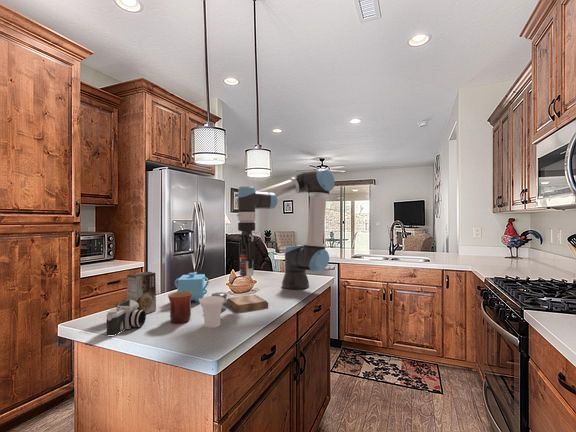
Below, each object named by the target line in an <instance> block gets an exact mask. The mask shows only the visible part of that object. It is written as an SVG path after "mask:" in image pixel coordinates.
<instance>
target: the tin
mask: <svg viewBox="0 0 576 432" xmlns="http://www.w3.org/2000/svg"><path fill="white" fill-rule="evenodd" d="M211 296H220V297H223V298H224V302H223V305H222V309H221V312H225V311H227V310H228V305H227V299H228V293H227V292H223V291H222V292H214V293H212V294H211Z"/></svg>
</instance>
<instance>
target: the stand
mask: <svg viewBox="0 0 576 432" xmlns="http://www.w3.org/2000/svg"><path fill="white" fill-rule="evenodd" d="M227 307H229V308H230V309H231V310H233V311H234V312H235V313H237V314H238V313H242V312H243V313H244V312H248V311H256V309H257V310H261V309H262V308H263V309H267V308H268V309H269V302H268V301H267V300H266V299H264V298H262V297H260V296H259V295H257V294H249V295H248V294H247V295H241V296H233V297H232V296H231V297H227Z"/></svg>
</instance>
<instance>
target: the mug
mask: <svg viewBox="0 0 576 432" xmlns="http://www.w3.org/2000/svg"><path fill="white" fill-rule="evenodd" d="M192 294H193V293H192V292H187V291H182V292H177V291H175V292H171V293H169V294H168V296H167V297H168V300H169V303H170V304H169V306H170V307H169V317H170V318H169V319H170V322H171V323H172V324H178V325H180V324H185V323H188V322H189V321H190V320H191V315H192V313H191V311H192V310H191V308H192V306H191V301H192V300H191V298H192Z"/></svg>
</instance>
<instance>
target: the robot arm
mask: <svg viewBox="0 0 576 432" xmlns="http://www.w3.org/2000/svg"><path fill="white" fill-rule="evenodd" d="M335 183H336V182H335V177H334V175H333V173H332V172H331V171H330V170H328V169H326V168H324V169H315V170H310V171H303V172H301V173H299V174H296V175H294V176H291V177H289V178H287V180H285V181H282V182H278V183H276V184H273V185H269V186H267V187H264V188H261V189H258V190H256V187H254V186H249V185H247V186H244V185H243V186H239V187H238V189H237V199H236V203H237V210H238V211H237V214H236V216H237V219H238V220H237V221H238V223H237V229H238V231H239V232H241V234H239V235H238V257H239V258H240V255H241V254H242V250H243V249H246V253H247V260H246V276H245V277H253V276H254V260H256V236H253V232H254V231H256V223H255V221H256V210H263V209H264V210H271V209H275V208H276V207H277V205H278V199H280V198H284V197H286V196H289V195H291V194H292V195H297V194H302V193H303V194H304V193H307V195H308V196H309V210H308V222H307V234H306V242H305V243H303V244H299V245H290V246H288V245H287V246H286V247H285V250H284V274H283V275H284V276H283V279H282V281H281V287H282V288H284V289H288V290H304V289H307V288H309V287H310V282H309V278H308V275H307V271H309V272H310V271H311V272H319V273H320V272H323V271H324V270H325V269H326V268H327V266H328V265H329V262H330V253H329V252H328V250H327V249H326V245H325V244H324V234H325V221H326V220H325V218H326V204H327V198H328V197H329V196H330V192H331V191H333V189H334V188H335Z"/></svg>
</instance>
